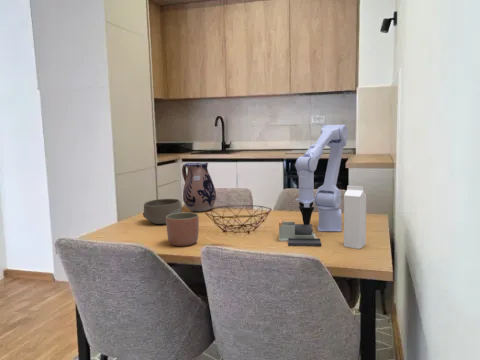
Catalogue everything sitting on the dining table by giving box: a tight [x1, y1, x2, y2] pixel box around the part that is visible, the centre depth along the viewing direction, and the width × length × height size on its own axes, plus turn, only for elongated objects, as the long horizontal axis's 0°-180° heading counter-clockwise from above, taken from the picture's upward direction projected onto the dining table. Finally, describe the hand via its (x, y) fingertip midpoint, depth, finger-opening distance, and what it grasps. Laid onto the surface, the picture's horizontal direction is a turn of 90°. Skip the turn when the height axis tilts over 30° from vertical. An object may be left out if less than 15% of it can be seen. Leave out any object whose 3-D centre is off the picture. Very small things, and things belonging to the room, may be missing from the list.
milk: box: [343, 184, 367, 250], centre depth 153 cm, size 6×6×22 cm
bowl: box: [142, 198, 183, 225], centre depth 200 cm, size 17×18×10 cm
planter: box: [165, 211, 200, 247], centre depth 163 cm, size 12×12×11 cm
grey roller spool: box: [288, 223, 315, 235], centre depth 166 cm, size 11×4×4 cm, turn 83°
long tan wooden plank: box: [278, 217, 284, 227], centre depth 166 cm, size 1×9×1 cm, turn 173°
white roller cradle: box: [278, 221, 317, 242], centre depth 167 cm, size 14×9×6 cm, turn 83°
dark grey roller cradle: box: [287, 237, 322, 247], centre depth 159 cm, size 12×6×1 cm, turn 83°
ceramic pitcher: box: [181, 162, 217, 213], centre depth 226 cm, size 18×21×25 cm
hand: (306, 222), depth 166 cm, fingers open, 7 cm apart
